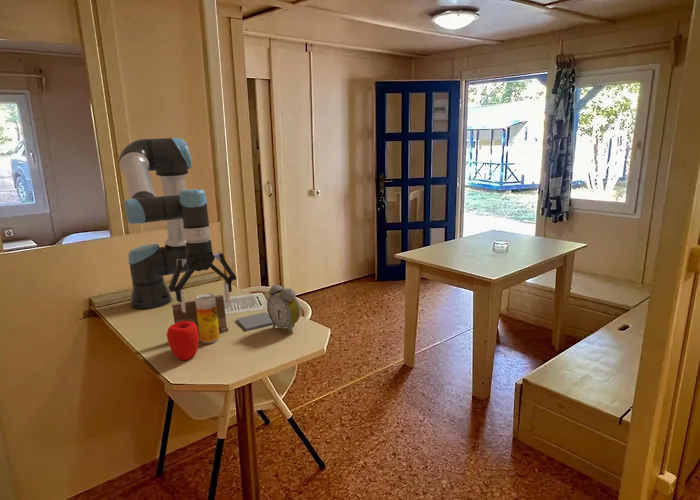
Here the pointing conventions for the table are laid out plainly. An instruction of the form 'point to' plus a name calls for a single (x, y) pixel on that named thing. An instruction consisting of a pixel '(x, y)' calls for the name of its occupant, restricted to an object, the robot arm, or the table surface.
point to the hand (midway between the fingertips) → (206, 306)
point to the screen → (192, 313)
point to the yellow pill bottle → (207, 318)
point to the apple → (183, 339)
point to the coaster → (255, 321)
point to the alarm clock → (283, 307)
